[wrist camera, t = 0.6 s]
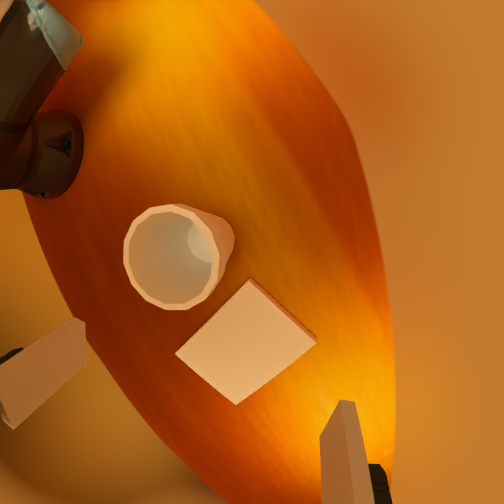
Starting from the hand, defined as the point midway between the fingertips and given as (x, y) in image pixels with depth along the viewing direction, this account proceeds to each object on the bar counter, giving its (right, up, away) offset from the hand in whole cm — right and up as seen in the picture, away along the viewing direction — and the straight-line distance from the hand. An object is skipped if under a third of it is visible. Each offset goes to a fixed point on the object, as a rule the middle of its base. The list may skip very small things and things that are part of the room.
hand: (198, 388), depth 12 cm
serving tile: (+1, -7, +27) cm, 28 cm away
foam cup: (-3, +8, +25) cm, 26 cm away
